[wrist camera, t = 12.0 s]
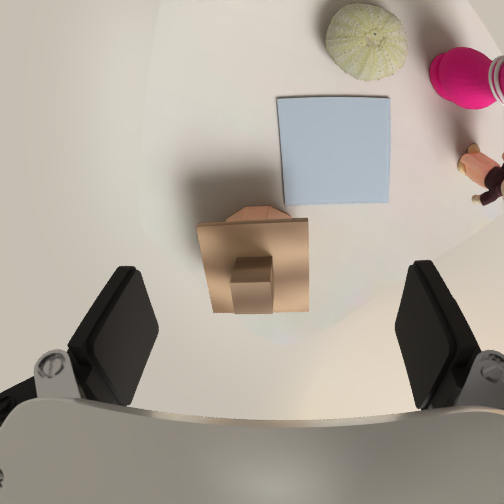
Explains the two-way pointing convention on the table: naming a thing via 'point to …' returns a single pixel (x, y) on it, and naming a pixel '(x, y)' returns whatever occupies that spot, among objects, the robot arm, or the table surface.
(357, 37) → the sea urchin shell
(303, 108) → the mat
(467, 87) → the pepper mill
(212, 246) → the lid
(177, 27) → the table surface
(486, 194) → the grandmother figurine
